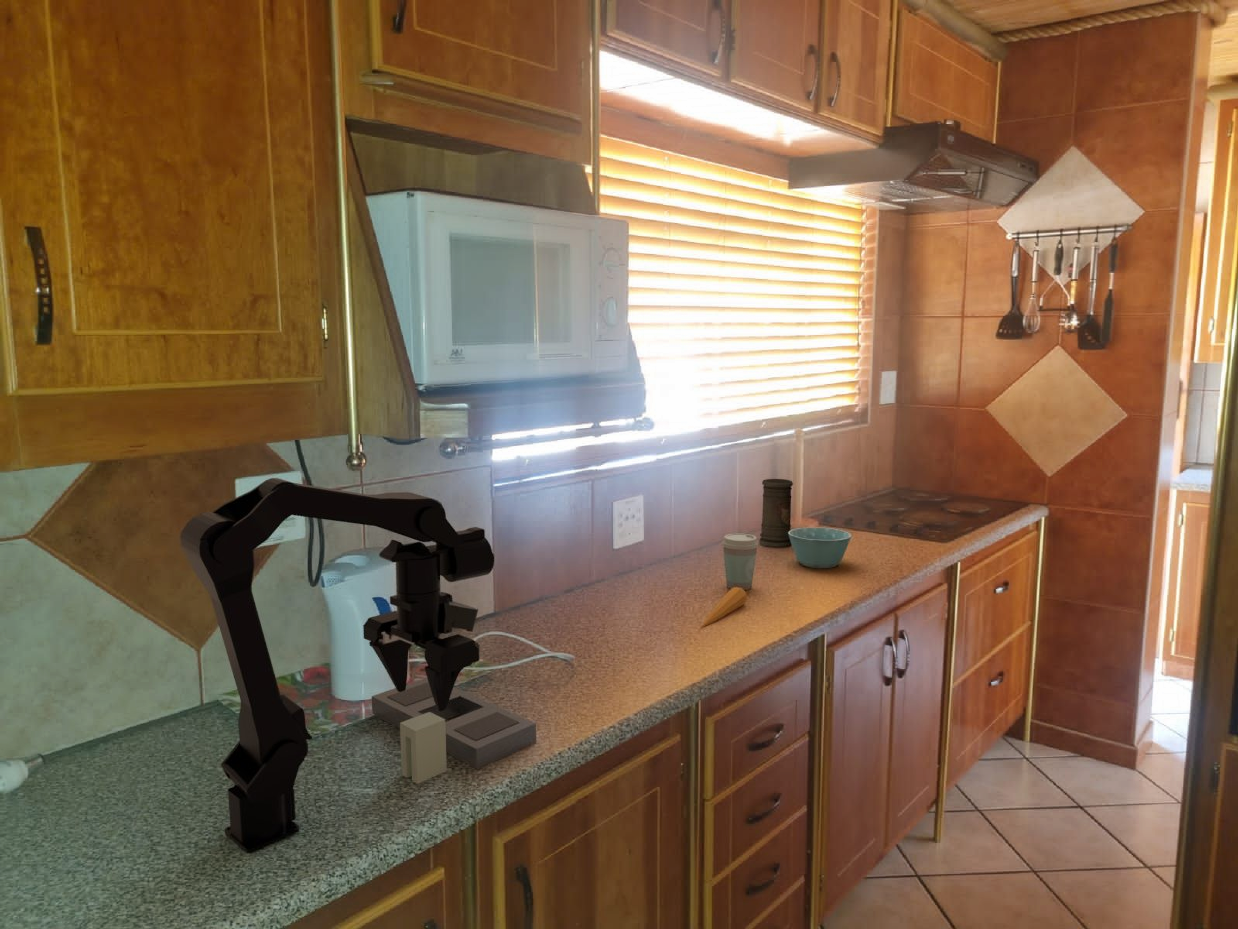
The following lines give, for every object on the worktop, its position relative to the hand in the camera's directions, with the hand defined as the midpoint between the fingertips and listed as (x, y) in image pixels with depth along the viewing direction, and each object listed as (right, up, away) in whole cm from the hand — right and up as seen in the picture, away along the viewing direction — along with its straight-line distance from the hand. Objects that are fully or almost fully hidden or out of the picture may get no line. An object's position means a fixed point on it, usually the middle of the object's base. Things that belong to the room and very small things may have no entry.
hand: (421, 700), depth 122 cm
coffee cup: (+55, +3, +90) cm, 106 cm away
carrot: (+48, -1, +70) cm, 84 cm away
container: (+71, +9, +132) cm, 150 cm away
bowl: (+78, +6, +111) cm, 136 cm away
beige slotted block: (0, -10, +2) cm, 11 cm away
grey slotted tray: (+1, -8, +15) cm, 17 cm away
